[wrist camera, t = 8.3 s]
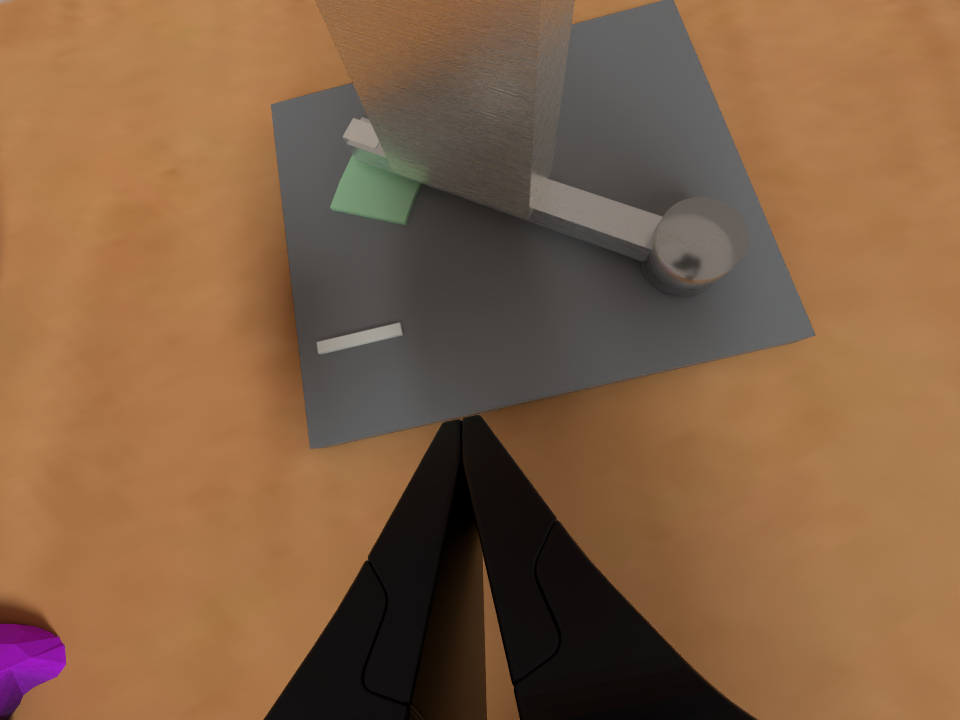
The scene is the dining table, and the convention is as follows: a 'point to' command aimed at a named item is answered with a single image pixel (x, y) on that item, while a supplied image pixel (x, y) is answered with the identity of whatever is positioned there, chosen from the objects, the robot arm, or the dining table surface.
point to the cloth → (26, 662)
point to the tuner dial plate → (518, 251)
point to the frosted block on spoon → (505, 127)
